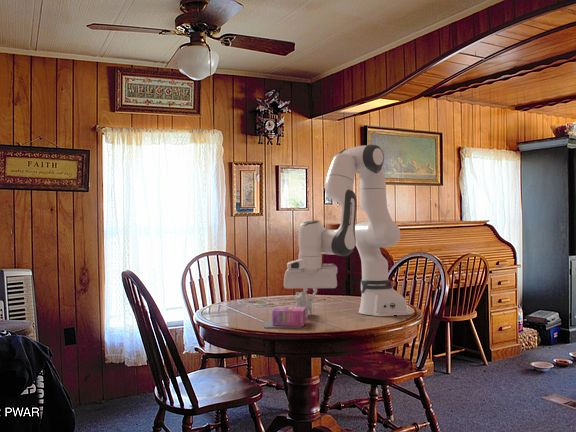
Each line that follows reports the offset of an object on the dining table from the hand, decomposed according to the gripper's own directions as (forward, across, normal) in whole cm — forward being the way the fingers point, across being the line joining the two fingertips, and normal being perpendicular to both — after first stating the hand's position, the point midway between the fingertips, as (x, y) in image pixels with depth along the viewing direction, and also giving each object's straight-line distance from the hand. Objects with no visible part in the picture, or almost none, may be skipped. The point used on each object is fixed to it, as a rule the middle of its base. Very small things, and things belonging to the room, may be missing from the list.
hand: (310, 300), depth 195 cm
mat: (+9, +10, -1) cm, 14 cm away
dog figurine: (+10, +1, -19) cm, 22 cm away
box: (+6, +2, -1) cm, 6 cm away
